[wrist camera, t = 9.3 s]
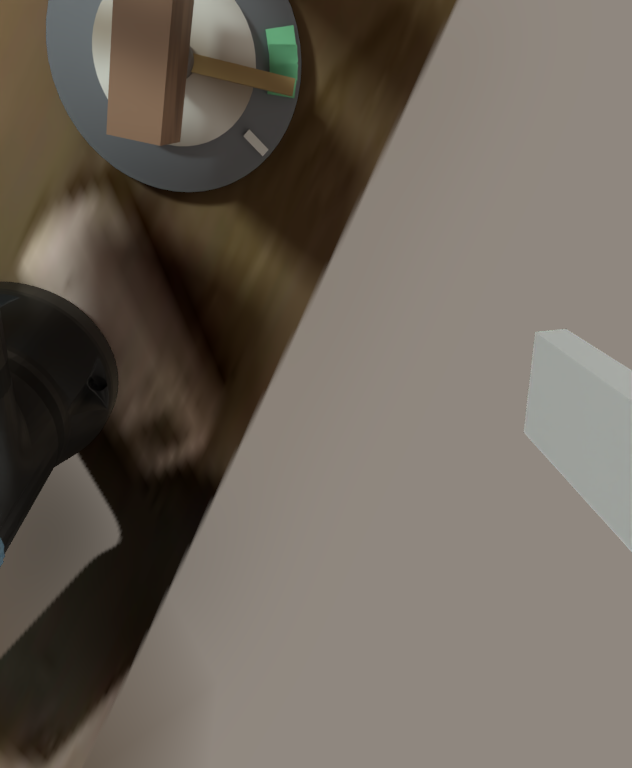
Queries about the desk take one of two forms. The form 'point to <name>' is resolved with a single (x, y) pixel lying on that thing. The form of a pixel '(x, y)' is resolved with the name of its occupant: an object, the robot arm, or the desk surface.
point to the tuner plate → (167, 162)
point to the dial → (176, 69)
